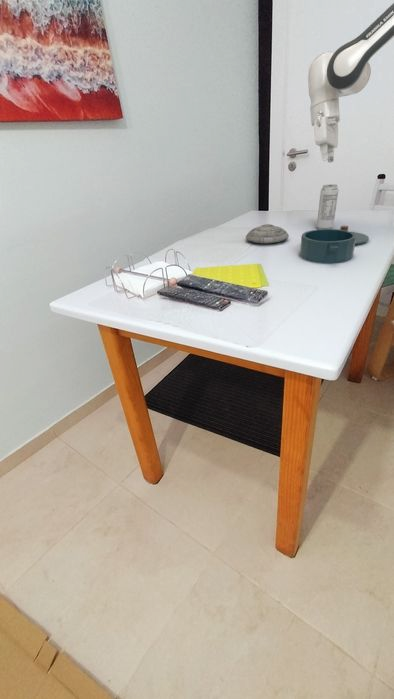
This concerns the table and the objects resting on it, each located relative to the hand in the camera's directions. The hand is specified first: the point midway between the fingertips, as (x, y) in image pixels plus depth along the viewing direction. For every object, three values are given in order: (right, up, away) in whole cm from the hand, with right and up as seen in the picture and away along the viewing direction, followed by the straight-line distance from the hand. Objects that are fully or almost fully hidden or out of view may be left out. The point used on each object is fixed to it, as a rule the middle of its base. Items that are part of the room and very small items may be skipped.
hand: (328, 161), depth 116 cm
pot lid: (+4, -28, -3) cm, 28 cm away
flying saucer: (-20, -26, +4) cm, 33 cm away
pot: (-6, -37, -14) cm, 40 cm away
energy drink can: (+3, -19, +12) cm, 23 cm away
